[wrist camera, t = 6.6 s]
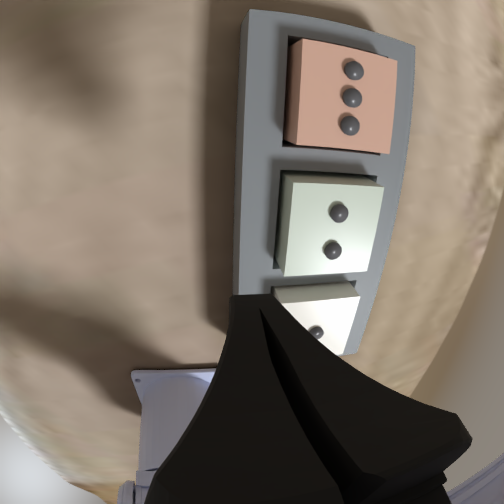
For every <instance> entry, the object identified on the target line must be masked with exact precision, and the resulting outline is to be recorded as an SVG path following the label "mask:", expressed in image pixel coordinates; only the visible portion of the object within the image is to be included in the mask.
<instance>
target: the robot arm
mask: <svg viewBox="0 0 504 504" xmlns="http://www.w3.org/2000/svg"><path fill="white" fill-rule="evenodd" d="M131 378H132V381H133V383H134V386H135V389H136V392H137V394H138V397H139V399H140V402H141V404H142V414H141V427H140V444H139V466H138V471H136V485H135V483H134V481H130V480H127V481H126V482H125V483H124V484H122V485H121V486H120V487H119V491H118V499H117V504H504V453H503V454H502V455H500V456H499V457H498V458H497V459H495V460H494V461H493V462H491V463H490V464H489V465H487V466H486V467H485V468H483V469H482V470H480V471H479V472H478V473H476V474H475V475H473V476H472V477H470V478H469V479H467V480H466V481H464V482H463V483H461V484H460V485H458V486H456V487H455V488H453V489H451V490H450V491H448V492H446V491H445V489H444V487H443V485H442V484H444V483H445V482H446V481H447V478H446V477H445V474H444V472H443V471H444V470H445V469H446V468H448V467H449V466H450V465H451V464H452V463H453V462H455V461H456V460H457V459H458V458H459V457H460V456H461V455H462V454H463V453H464V452H465V451H466V450H467V449H468V448H469V447H470V445H471V442H472V437H471V436H470V434H469V432H468V431H467V429H466V428H465V426H464V425H463V423H462V421H461V420H460V418H459V417H458V415H457V414H455V413H452V412H448V411H445V410H442V409H439V408H436V407H433V406H429V405H427V404H424V403H421V402H419V401H416V400H414V399H411V398H409V397H407V396H404V395H402V394H400V393H398V392H396V391H394V390H392V389H390V388H388V387H386V386H384V385H382V384H380V383H379V382H377V381H375V380H373V379H371V378H370V377H368V376H366V375H365V374H363V373H361V372H360V371H358V370H357V369H355V368H354V367H352V366H351V365H349V364H348V363H347V362H345V361H344V360H342V359H341V358H339V357H338V356H337V355H335V354H334V353H333V352H332V351H330V350H329V349H328V348H327V347H326V346H324V345H323V344H322V343H321V342H320V341H318V340H317V339H316V338H315V337H314V336H313V335H312V334H311V333H310V332H309V331H308V330H307V329H306V328H304V327H303V326H302V325H301V324H300V323H299V322H298V321H297V320H296V319H295V318H294V317H293V316H292V315H291V314H290V312H289V311H288V310H287V309H286V308H285V307H284V306H283V305H282V304H281V303H280V302H279V301H278V300H277V299H276V298H275V297H274V296H273V295H272V294H271V293H270V294H247V295H233V296H232V297H230V299H229V327H228V331H227V336H226V340H225V344H224V347H223V350H222V353H221V357H220V360H219V363H218V365H217V368H212V369H188V370H133V371H132V372H131Z"/></svg>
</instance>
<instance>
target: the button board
mask: <svg viewBox="0 0 504 504" xmlns="http://www.w3.org/2000/svg"><path fill="white" fill-rule="evenodd" d="M301 39H308V40H314V41H320V42H325V43H330V44H335V45H340V46H344V47H349V48H353V49H357V50H361V51H365V52H369V53H373V54H376V55H380V56H383V57H387V58H390V59H393V60H396V61H397V81H396V96H395V109H394V119H393V129H392V138H391V146H390V153H389V154H384V153H377V152H369V151H361V150H352V149H342V148H332V147H320V146H307V145H296V144H294V143H291V142H289V141H286V140H282V137H283V121H284V104H285V86H286V67H287V48H288V47H289V46H291V45H293V44H294V43H296V42H298V41H300V40H301ZM414 74H415V46H413V45H411V44H408V43H405V42H403V41H400V40H397V39H394V38H391V37H388V36H385V35H382V34H379V33H375V32H372V31H369V30H365V29H362V28H358V27H354V26H350V25H346V24H342V23H338V22H334V21H329V20H324V19H320V18H314V17H309V16H303V15H297V14H290V13H283V12H275V11H266V10H256V9H249V11H248V13H247V14H246V16H245V18H244V20H243V22H242V24H241V34H240V54H239V75H238V98H237V124H236V153H235V188H234V231H233V295H247V294H270V291H271V286H284V285H299V284H314V283H328V282H341V281H349V282H350V283H351V285H352V286H353V287H354V289H355V290H356V291H357V293H358V294H359V295H360V299H359V303H358V306H357V310H356V313H355V316H354V320H353V323H352V326H351V330H350V333H349V336H348V339H347V342H346V345H345V349H344V352H343V354H341V355H337V356H342V355H348V354H353V353H357V350H358V347H359V344H360V342H361V339H362V336H363V333H364V330H365V327H366V324H367V321H368V318H369V315H370V312H371V309H372V305H373V302H374V299H375V296H376V292H377V289H378V286H379V282H380V278H381V275H382V271H383V268H384V264H385V260H386V256H387V252H388V248H389V244H390V240H391V236H392V231H393V227H394V222H395V218H396V213H397V208H398V203H399V198H400V193H401V187H402V182H403V176H404V170H405V163H406V157H407V150H408V142H409V134H410V125H411V116H412V105H413V92H414ZM280 170H302V171H322V172H339V173H353V174H361V175H363V176H365V177H366V178H368V179H370V180H372V181H374V182H376V183H377V184H379V185H381V186H383V187H384V192H383V198H382V203H381V209H380V214H379V219H378V224H377V229H376V234H375V238H374V243H373V247H372V252H371V256H370V260H369V264H368V268H367V271H363V272H349V273H334V274H319V275H302V276H285V277H284V275H283V273H282V271H281V269H280V267H279V265H278V262H277V260H276V258H275V256H274V245H275V233H276V221H277V208H278V195H279V181H280Z"/></svg>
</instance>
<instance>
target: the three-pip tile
mask: <svg viewBox="0 0 504 504" xmlns="http://www.w3.org/2000/svg"><path fill="white" fill-rule="evenodd" d="M396 81H397V61H396V60H393V59H390V58H387V57H383V56H380V55H376V54H373V53H369V52H365V51H361V50H357V49H353V48H349V47H344V46H340V45H335V44H330V43H325V42H320V41H314V40H308V39H301V40H300V41H298V42H296V43H294V44H293V45H291V46H289V47H288V48H287V67H286V86H285V104H284V121H283V137H282V139H285V140H287V141H289V142H291V143H294V144H296V145H307V146H320V147H332V148H342V149H352V150H361V151H369V152H377V153H384V154H389V153H390V146H391V138H392V129H393V119H394V109H395V96H396Z"/></svg>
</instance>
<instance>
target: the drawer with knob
mask: <svg viewBox="0 0 504 504" xmlns="http://www.w3.org/2000/svg"><path fill="white" fill-rule="evenodd" d="M270 293H271V294H272V295H273V296H274V297H275V298H276V299H277V300H278V301H279V302H280V303H281V304H282V305H283V306H284V307H285V308H286V309H287V310H288V311H289V312H290V314H291V315H292V316H293V317H294V318H295V319H296V320H297V321H298V322H299V323H300V324H301V325H302V326H303V327H304V328H306V329H307V330H308V331H309V332H310V333H311V334H312V335H313V336H314V337H315V338H316V339H317V340H318V341H320V342H321V343H322V344H323V345H324V346H326V347H327V348H328V349H329V350H330V351H332V352H333V353H334V354H335V355H341V354H343V352H344V349H345V345H346V342H347V339H348V336H349V333H350V330H351V326H352V323H353V320H354V316H355V313H356V310H357V306H358V303H359V299H360V295H359V294H358V293H357V291H356V290H355V289H354V287H353V286H352V285H351V283H350V282H349V281H341V282H328V283H314V284H299V285H284V286H271V291H270Z"/></svg>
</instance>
